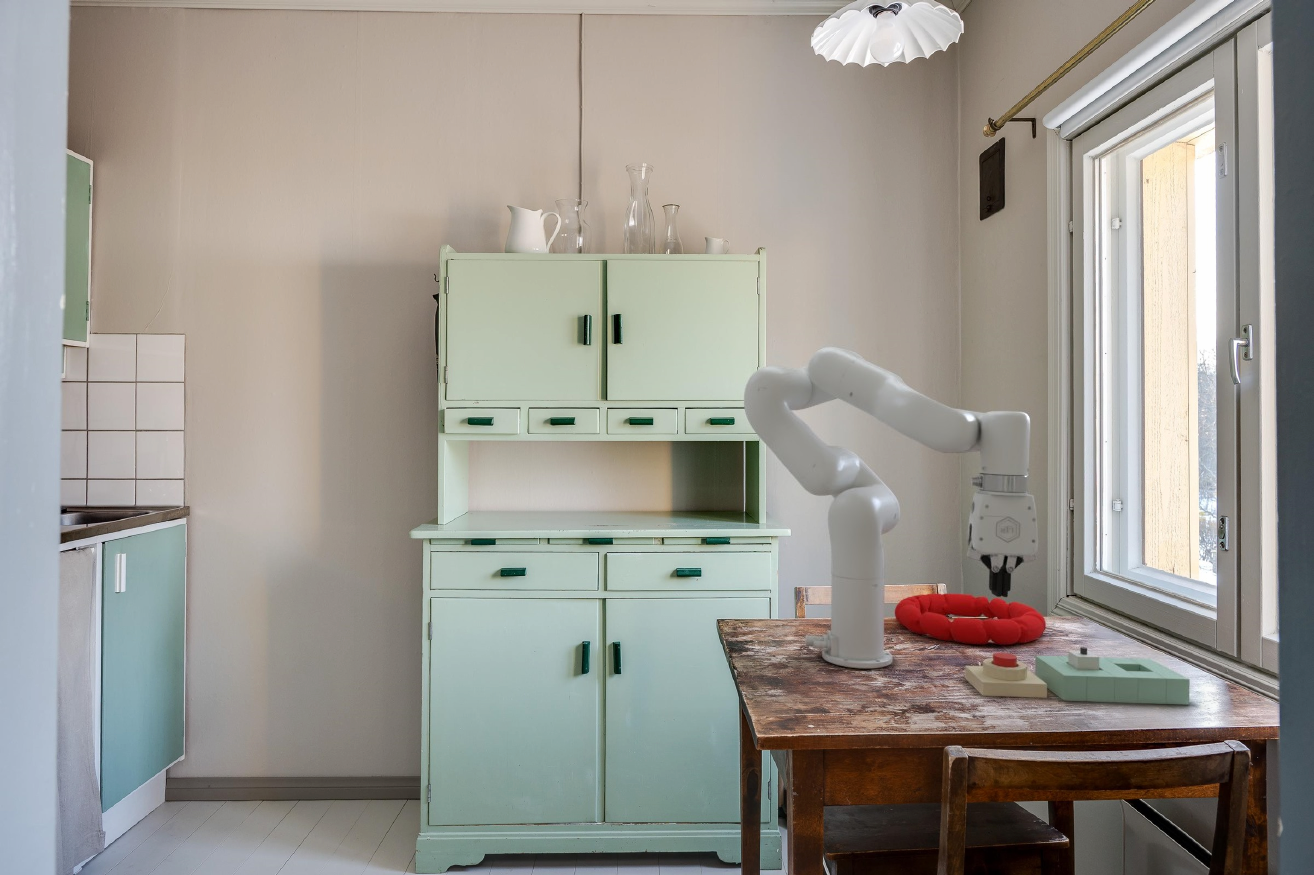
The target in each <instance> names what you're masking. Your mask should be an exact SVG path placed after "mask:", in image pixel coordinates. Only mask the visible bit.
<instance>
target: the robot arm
mask: <svg viewBox="0 0 1314 875" xmlns="http://www.w3.org/2000/svg"><path fill="white" fill-rule="evenodd" d="M807 364H808V365H805V366H802V367H798V368H793V367H787V366H781V365H768V366H764V367H761V368H759V369H757V370H756V371H754V372H753V373H752V374H751V375H750V377H749V378H748V380H747V383H746V385H745V388H744V394H743V407H744V412H745V415H746V419H747V421H748V423H749V425H750V427H751V428H752V430H753V431H754V432H755V434H756V435H757V436H758V438H760V440H761V441H762V442H763V443H764V444H765V445H766V446H767V448H768V449H770V450H771V452H772V453H773V454H774V455H775V456H776V458H777V459H778V460H779V461H780V463H781V464H782V465H783V466H784V468H786V469H787V471H788V472H789V473H790V474H791V475H792V477H793V478H794V479H795V480H796V481H797V482H798V484H799V485H800V486H802V488H803V489H804V490H805V491H806V492H808V493H809V494H811V495H813V496H818V497H825V496H832V498H833V500H832V501H831V503H830V505H829V508H828V512H827V525H828V526H827V527H828V534H829V541H830V555H831V556H830V559H831V560H830V561H831V563H830V564H831V566H830V568H831V569H830V572H831V573H830V574H831V584H830V586H831V587H830V588H831V590H830V591H831V592H830V594H831V595H830V596H831V597H830V605H831V606H830V610H831V611H830V629H827V632H826V633H827V634H825V633H823V634H822V635H820V636H816V635H807V634H806V635H805V637H804V645H805V647H813V649H822V651H821V657H822V659H823V660H825V662H828V663H830V664H833V665H836V666H840V667H845V668H852V669H866V670H867V669H878V668H879V669H880V668H884V667H885V668H886V667H888V666H890V665H891V664H893V660H894V659H893V658H894V657H893V654H892V653H891V652H890V651H888V650H885V588H886V586H885V584H886V583H885V581H886V580H885V579H886V578H885V572H886V571H885V570H886V569H885V567H886V566H885V565H886V564H885V553H884V546H883V538H882V535H884V534H887V533H889V532H890V531H892V530H893V529H895V527H896V526H897V525H898V523H899V521H900V517H901V506H900V502H899V500H898V498H897V496H896V495H895V493H894V492H893V491H892V490H891V489H890V487H889V486H888V485H886V484H885V482H884V481H883V480H882V479H881V478H880V477H879V476H878V475H877V474H876V472H875V471H873V470H872V469H871V467H870V466H868V464H866V462H865V461H864V460H863V459H862V458H861V457H860V456H859V455H858V454H856V453H855V452H853V451H852V450H850V449H849V448H846V447H844V446H839V445H836V446H835V445H828V444H827V443H825V442H824V441H823V440H822V439H821V438H820V437H819V436H818V435H817V434H816V433H815V432H814V430H812V429H811V427H810V426H809V425H808V424H807V423H806V422H805V421H804V420H803V419H802V418H800V417H799V416H797V414H796V413H794V412H793V411H802V410H805V409H810V408H812V407H815V406H819V405H822V404H824V403H827V402H830V401H834V400H837V399H839V400H841V401H843V402H845V403H846V404H849V405H851V406H852V407H855V408H857V409H858V410H861V411H862V412H864V413H866V414H868V415H870V416H872V417H874V418H875V419H876V420H878V421H879V422H881V423H883V424H885V425H886V426H888V427H890V428H891V429H893V430H894V431H896V432H898V433H900V434H902V435H903V436H905V437H907V438H909V439H911V440H913V441H915V442H917V443H918V444H920V445H923V446H925V447H927V448H929V449H931V450H933V451H935V452H937V453H938V452H939V453H943V454H965V453H974V452H976V453H977V452H979V466H978V473H977V476H975V477H974V476H973V477H970V480H969V484H970V486H975V487H976V488H977V490H978V491H974V494H973V497H972V502H971V506H970V511H969V516H968V526H967V546H968V548H967V551H966V557H968V558H969V559H972V560H975V561H978V562H981V563H982V564H983V565H984V567H986V568H987V569H988V571H989V573H988V589H989V591H991V594H992V595H993V596H995V597H996V598H1002V597H1003V598H1008V596H1009V592H1010V591H1011V590H1012V588H1011V587H1012V574H1013V573H1014V572H1015V570H1016V569H1017V568H1018V567H1019V566H1021V564H1026V563H1029V562H1034V561H1035V560H1036V555H1035V554H1036V553H1037V552H1038V548H1039V547H1038V546H1039V535H1038V534H1039V533H1038V532H1039V531H1038V518H1037V509H1036V508H1037V507H1036V501H1035V497H1034V495H1033V494H1029V474H1030V473H1029V472H1030V446H1031V445H1030V444H1031V442H1030V441H1031V418H1030V416H1029V415H1028V414H1027V413H1026V412H1023V411H1017V410H1016V411H1013V410H992V411H987V412H981V411H974V410H967V409H962V408H953V407H951V406H948V405H946V404H944V403H941V402H940V401H937V400H935V399H933V398H931V397H928V396H927V395H924V394H922V393H920V391H919V392H918V391H917V390H915V389H913V388H912V387H910V386H909V385H907V384H906V383H905V381H904V380H903V378H902V377H901V376H900V375H898V374H896V373H894V372H892V371H890V370H888V369H886V368H884V367H881V366H879V365H876V364H874V363H872V362H870V361H868V360H866V359H864V357H862V355H861V354H859V353H858V352H855V351H853V350H850V349H846V348H842V347H838V346H825V347H822V348H820V349H818V350H816V351H815V352H814V353H813V354H812V355H811V358H809V360H808V363H807ZM999 556H1002V559H1001V565H1000V560H999Z"/></svg>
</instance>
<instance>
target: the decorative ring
mask: <svg viewBox="0 0 1314 875" xmlns="http://www.w3.org/2000/svg"><path fill="white" fill-rule="evenodd" d="M950 615H952V616H954V617H955V618H953V620H952V621H951V620H950V619H949V617H947V616H950ZM982 615H983V616H984V617H985V618H987V619H984V620H982V619H980V617H981V616H982ZM894 617H895V619H896V621H897V623H898V624H900V625H901V626H903V627H905V628H906V629H907V630H909V631H910V632H912V633H915V634H918V635H928V636H930V637H931V638H934V639H937V640H939V641H944V642H945V641H947V642H949V641H956V642H959V643H962V644H968V645H979V646H983V645H987V644H989V641H992V643H994V644H995V645H998V646H999V645H1000V646H1011V645H1014V644H1016V643H1017V644H1026V643H1030V642H1032V641H1036V640H1037V639H1039V638H1040V637H1042V635H1044V632H1045V631H1046V628H1047V622H1046V619H1045V617H1044V616H1043V614H1042V613H1040V612H1038V611H1037V610H1036V609H1035V608H1034V607H1032V606H1029V605H1027V604H1024V603H1022V602H1017V601H1011V602H1009V603H1007V602H1006V601H1005V600H1004V599H1002V598H1000V597H995V598H992V599H991V600H989V598H988V597H987V596H977V597H976V596H974V595H972V594H964V593H943V594H942V593H927V594H916V595H912V596H908V597H906V598H903V599H901V600H900V601H898V603H897V604H896V605H895V608H894Z"/></svg>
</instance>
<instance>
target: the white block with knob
mask: <svg viewBox="0 0 1314 875" xmlns="http://www.w3.org/2000/svg"><path fill="white" fill-rule="evenodd" d="M1067 652H1068V653H1067V654H1068V655H1067V656H1068V664H1069V665H1071V666H1072V667H1074V668H1075V669H1077V670H1099V657H1100V656H1098V655H1096V654H1095V653H1093V652H1092V651H1090V650H1088V648H1087V647H1085V646H1081V647H1080V648H1079V650H1068V651H1067Z"/></svg>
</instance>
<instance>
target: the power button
mask: <svg viewBox="0 0 1314 875" xmlns="http://www.w3.org/2000/svg"><path fill="white" fill-rule="evenodd" d="M992 658H993V664H994V665H997V666H1001V667H1017V661H1018V656H1017V655H1015V654H1013V653H1008V652H994V653H993V654H992Z"/></svg>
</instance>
